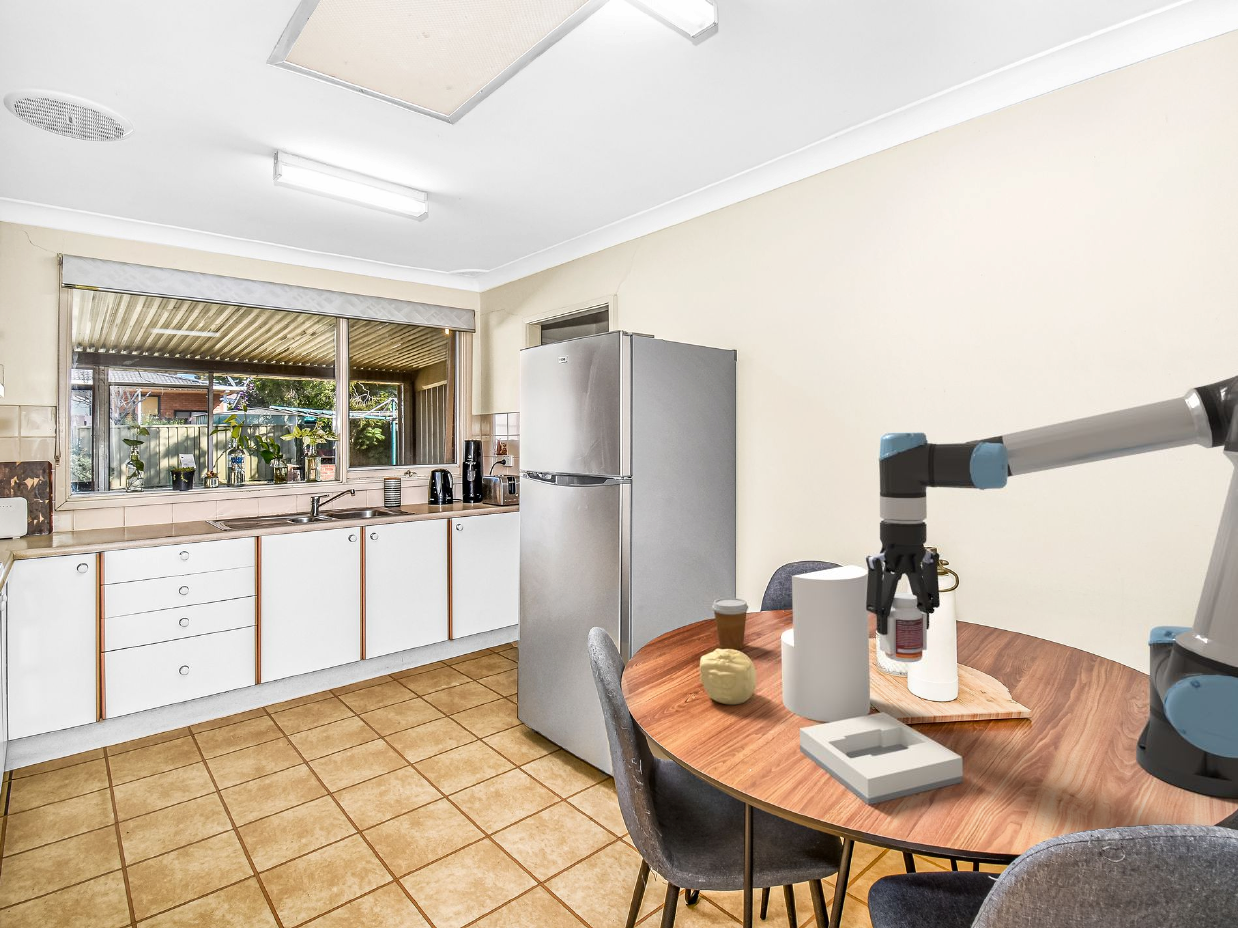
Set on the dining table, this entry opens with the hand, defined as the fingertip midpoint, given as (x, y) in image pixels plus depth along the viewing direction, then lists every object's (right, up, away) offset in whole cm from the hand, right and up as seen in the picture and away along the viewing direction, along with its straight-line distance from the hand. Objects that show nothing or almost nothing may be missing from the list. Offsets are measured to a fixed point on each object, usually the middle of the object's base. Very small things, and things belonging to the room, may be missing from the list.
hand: (903, 649), depth 113 cm
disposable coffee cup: (-20, -16, +57) cm, 63 cm away
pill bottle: (0, -2, 0) cm, 2 cm away
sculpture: (-27, -18, +24) cm, 40 cm away
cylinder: (-8, -17, +19) cm, 27 cm away
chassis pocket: (-7, -18, -6) cm, 20 cm away
